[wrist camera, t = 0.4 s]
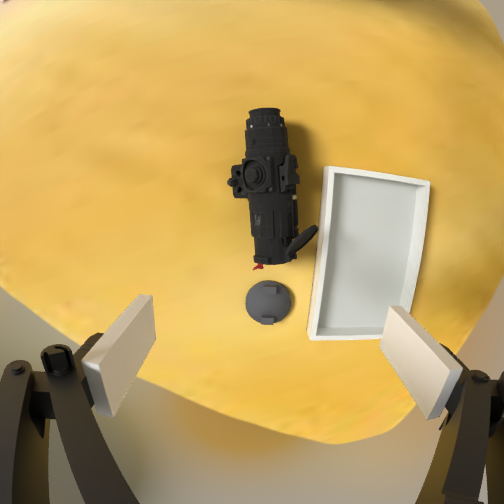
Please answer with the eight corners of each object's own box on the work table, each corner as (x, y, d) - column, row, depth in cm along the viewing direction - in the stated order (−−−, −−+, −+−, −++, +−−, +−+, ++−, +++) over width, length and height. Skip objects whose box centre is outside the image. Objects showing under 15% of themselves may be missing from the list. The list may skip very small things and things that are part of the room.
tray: (323, 166, 36) (328, 165, 33) (419, 180, 36) (430, 181, 33) (306, 329, 41) (310, 340, 38) (394, 328, 41) (402, 337, 38)
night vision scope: (258, 121, 37) (326, 110, 30) (267, 251, 41) (333, 260, 35) (214, 115, 31) (289, 97, 25) (227, 267, 35) (299, 281, 29)
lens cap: (246, 278, 40) (246, 283, 38) (291, 280, 40) (293, 285, 38) (244, 319, 41) (244, 325, 39) (287, 320, 41) (289, 327, 39)
